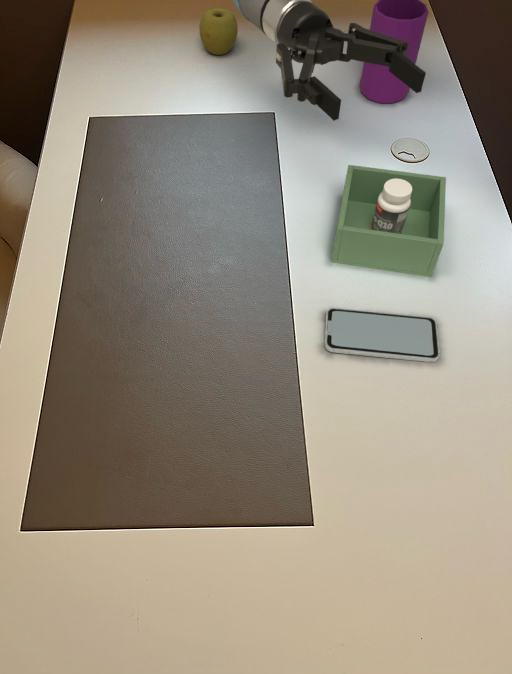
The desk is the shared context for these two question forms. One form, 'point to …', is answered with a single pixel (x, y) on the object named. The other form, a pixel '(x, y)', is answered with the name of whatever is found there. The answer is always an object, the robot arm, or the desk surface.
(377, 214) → the pill bottle
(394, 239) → the open storage box
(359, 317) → the smartphone
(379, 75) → the mug
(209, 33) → the apple
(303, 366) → the desk surface
